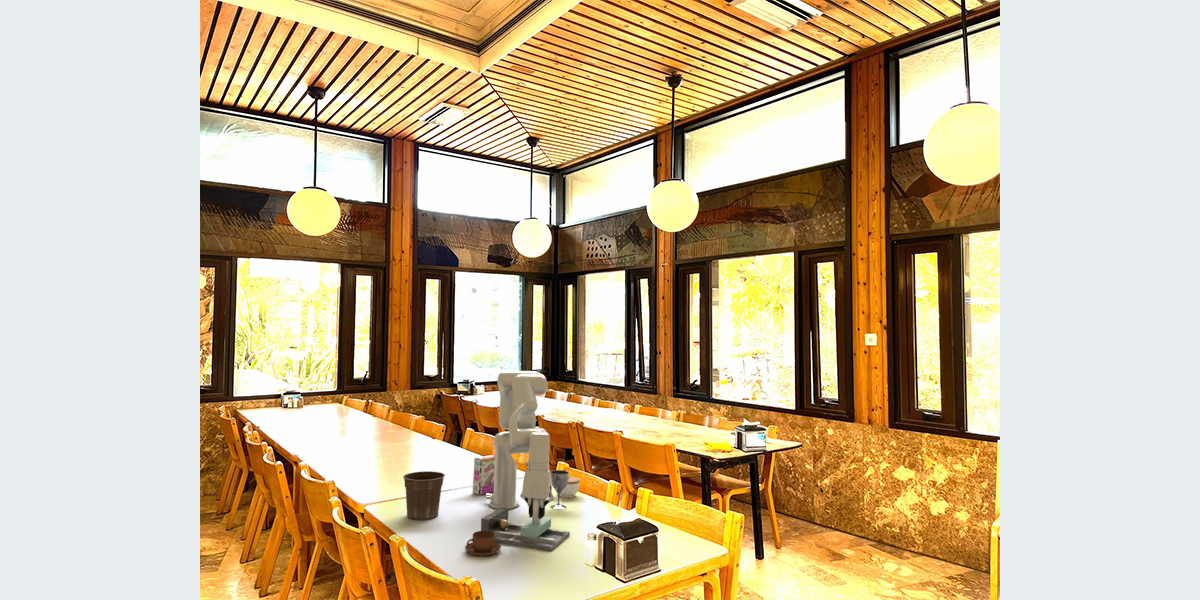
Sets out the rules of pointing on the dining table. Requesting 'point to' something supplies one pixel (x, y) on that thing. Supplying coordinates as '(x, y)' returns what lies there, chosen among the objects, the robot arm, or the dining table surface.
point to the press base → (511, 532)
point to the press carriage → (535, 523)
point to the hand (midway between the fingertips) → (536, 516)
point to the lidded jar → (571, 487)
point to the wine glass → (559, 484)
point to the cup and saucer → (482, 544)
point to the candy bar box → (483, 475)
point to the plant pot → (423, 494)
